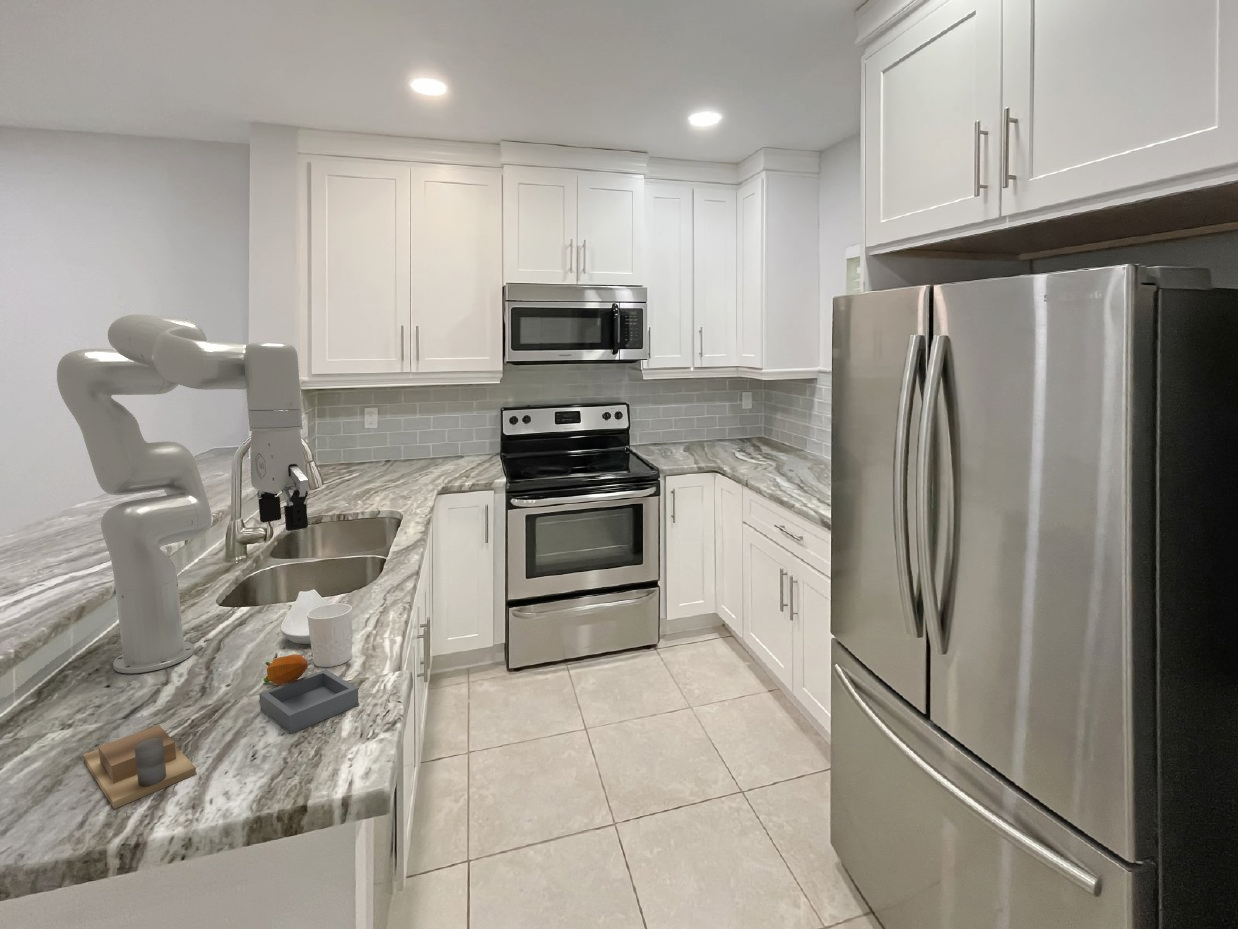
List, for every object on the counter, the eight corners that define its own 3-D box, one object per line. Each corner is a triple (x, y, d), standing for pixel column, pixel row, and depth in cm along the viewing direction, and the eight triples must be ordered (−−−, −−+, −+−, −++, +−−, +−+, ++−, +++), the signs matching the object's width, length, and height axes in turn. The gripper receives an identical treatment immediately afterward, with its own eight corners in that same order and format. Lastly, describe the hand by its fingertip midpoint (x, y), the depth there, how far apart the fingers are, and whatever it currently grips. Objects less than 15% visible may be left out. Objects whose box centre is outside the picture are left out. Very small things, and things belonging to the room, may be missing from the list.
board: (83, 761, 88) (78, 721, 87) (159, 733, 95) (155, 696, 94) (113, 809, 78) (108, 765, 77) (196, 774, 85) (192, 733, 84)
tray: (260, 710, 101) (259, 693, 101) (327, 685, 110) (325, 669, 109) (290, 734, 94) (289, 715, 94) (358, 705, 103) (357, 688, 102)
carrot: (323, 651, 105) (289, 662, 114) (293, 645, 102) (261, 657, 111) (315, 681, 103) (281, 690, 112) (284, 676, 100) (252, 686, 109)
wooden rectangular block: (100, 763, 86) (98, 746, 85) (160, 740, 91) (159, 725, 91) (113, 783, 81) (111, 766, 81) (176, 758, 87) (174, 742, 86)
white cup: (340, 670, 115) (337, 619, 114) (301, 668, 116) (297, 617, 115) (362, 652, 123) (359, 604, 122) (325, 650, 124) (322, 602, 123)
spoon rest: (347, 643, 128) (345, 610, 127) (283, 656, 122) (280, 621, 121) (332, 608, 148) (331, 579, 147) (277, 618, 142) (274, 588, 141)
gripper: (229, 420, 101) (237, 521, 104) (274, 424, 91) (282, 537, 93) (277, 418, 107) (284, 514, 109) (324, 421, 96) (331, 528, 99)
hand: (283, 525), depth 101 cm, fingers open, 9 cm apart
